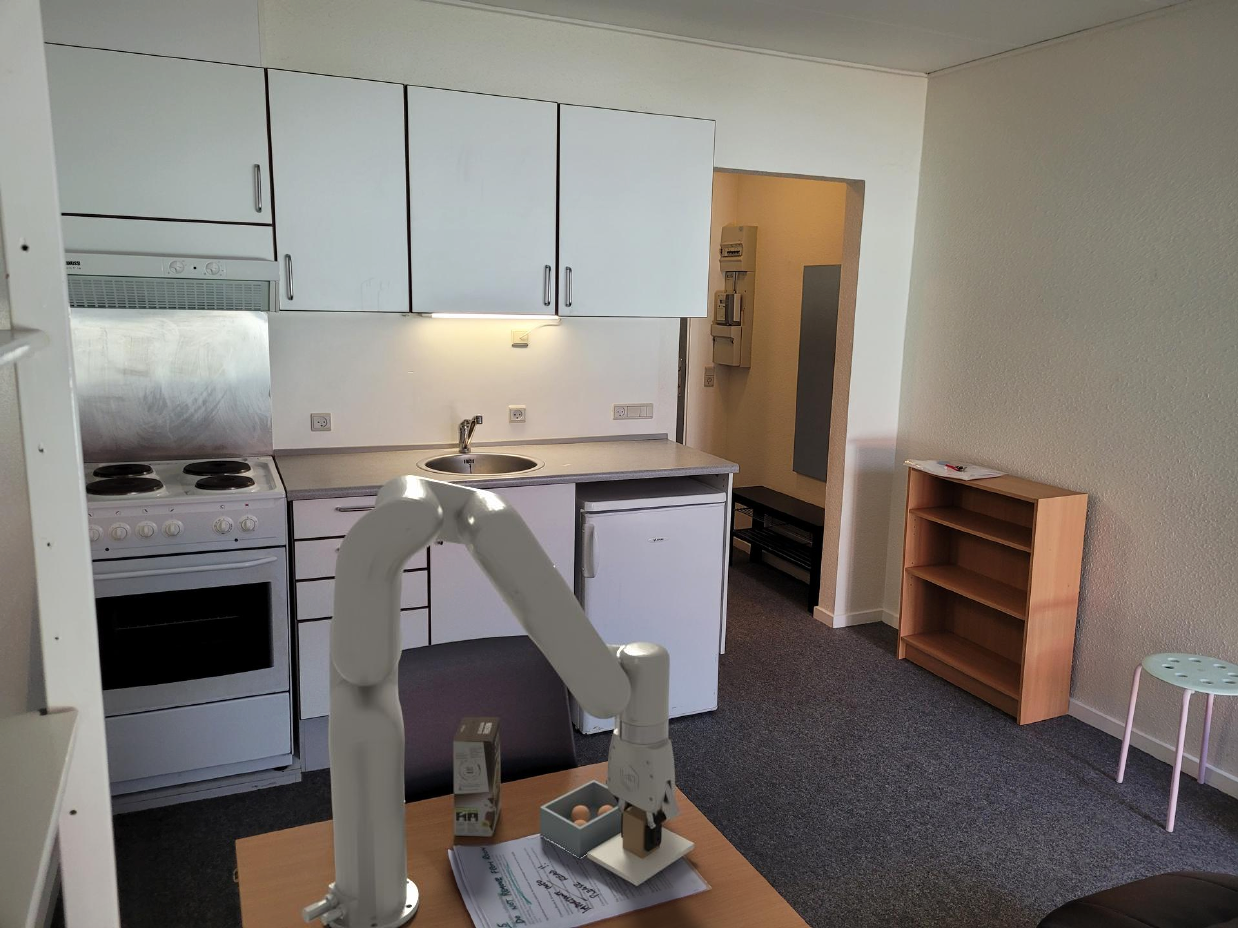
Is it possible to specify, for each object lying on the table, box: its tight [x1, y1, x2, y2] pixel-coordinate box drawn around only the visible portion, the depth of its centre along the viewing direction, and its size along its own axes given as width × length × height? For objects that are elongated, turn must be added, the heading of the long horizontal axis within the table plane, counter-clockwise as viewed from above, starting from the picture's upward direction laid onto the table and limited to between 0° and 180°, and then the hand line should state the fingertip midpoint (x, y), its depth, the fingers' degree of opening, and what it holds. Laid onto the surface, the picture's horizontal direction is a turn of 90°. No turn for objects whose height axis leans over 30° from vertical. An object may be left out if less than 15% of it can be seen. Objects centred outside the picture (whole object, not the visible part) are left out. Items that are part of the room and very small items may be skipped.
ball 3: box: [598, 805, 613, 817], centre depth 148 cm, size 3×3×3 cm
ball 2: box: [574, 820, 587, 827], centre depth 143 cm, size 3×3×3 cm
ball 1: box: [571, 805, 590, 822], centre depth 148 cm, size 3×3×3 cm
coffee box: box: [452, 716, 502, 837], centre depth 149 cm, size 9×6×16 cm
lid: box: [586, 805, 695, 887], centre depth 138 cm, size 13×10×7 cm
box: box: [539, 779, 622, 858], centre depth 147 cm, size 12×9×5 cm
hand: (641, 839), depth 139 cm, fingers closed on lid, 4 cm apart
